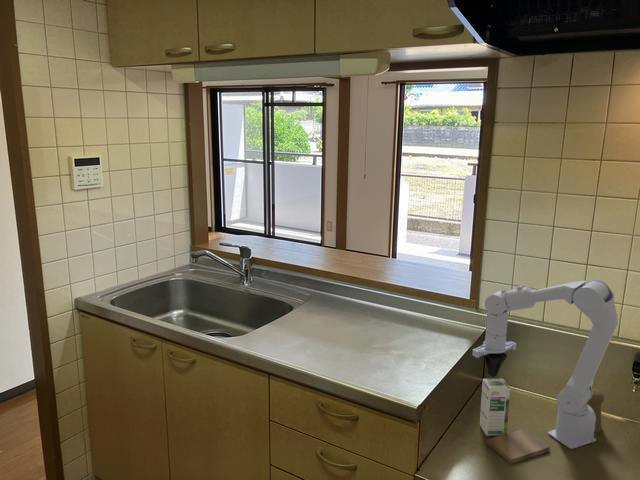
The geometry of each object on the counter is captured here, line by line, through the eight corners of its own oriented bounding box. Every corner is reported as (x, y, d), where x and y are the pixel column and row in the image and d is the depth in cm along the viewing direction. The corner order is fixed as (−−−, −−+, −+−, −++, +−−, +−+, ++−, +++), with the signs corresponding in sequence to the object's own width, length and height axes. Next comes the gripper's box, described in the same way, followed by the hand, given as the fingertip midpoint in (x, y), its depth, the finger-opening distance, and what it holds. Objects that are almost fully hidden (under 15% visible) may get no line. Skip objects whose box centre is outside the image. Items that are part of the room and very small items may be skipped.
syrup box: (486, 436, 142) (490, 388, 139) (478, 424, 148) (482, 377, 145) (506, 436, 142) (511, 387, 139) (498, 424, 148) (502, 377, 145)
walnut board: (523, 432, 144) (523, 428, 144) (549, 451, 136) (549, 446, 136) (486, 443, 139) (486, 439, 139) (510, 463, 131) (511, 459, 131)
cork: (572, 421, 150) (577, 386, 147) (591, 419, 151) (596, 384, 148) (587, 433, 144) (591, 397, 141) (606, 431, 145) (611, 395, 142)
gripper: (505, 323, 158) (502, 365, 161) (466, 331, 152) (463, 373, 155) (523, 332, 151) (518, 375, 154) (483, 340, 146) (479, 384, 149)
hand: (492, 375), depth 154 cm, fingers closed
